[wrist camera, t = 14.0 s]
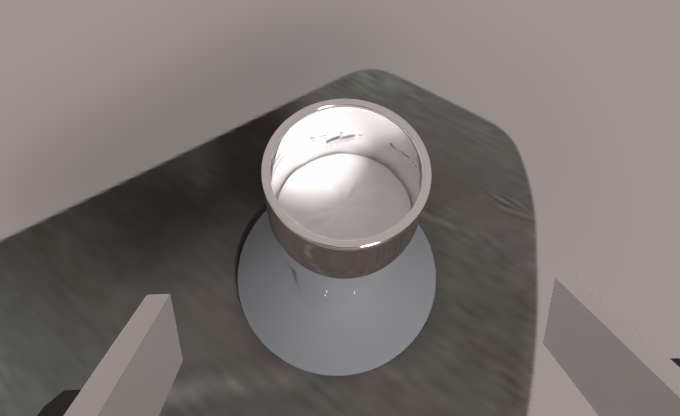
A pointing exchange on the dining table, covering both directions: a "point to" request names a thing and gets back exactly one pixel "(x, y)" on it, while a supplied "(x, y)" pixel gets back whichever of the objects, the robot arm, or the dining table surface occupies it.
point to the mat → (333, 328)
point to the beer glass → (344, 197)
